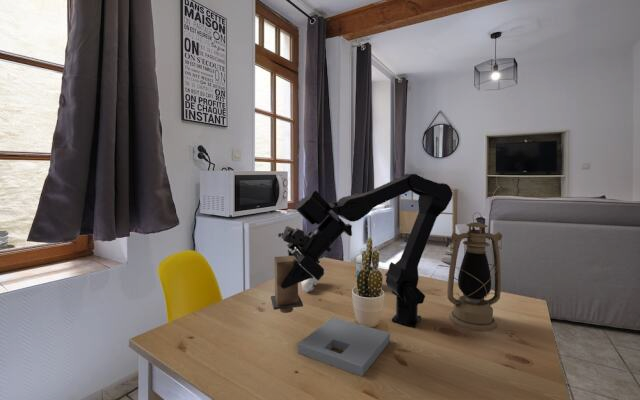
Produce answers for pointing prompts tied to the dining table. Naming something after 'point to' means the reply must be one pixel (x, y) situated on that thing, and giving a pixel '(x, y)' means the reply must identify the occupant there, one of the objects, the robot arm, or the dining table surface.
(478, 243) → the lantern
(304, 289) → the white lumpy upright piece
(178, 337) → the dining table surface
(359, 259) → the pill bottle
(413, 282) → the robot arm
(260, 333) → the dining table surface
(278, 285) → the walnut peg
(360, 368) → the slate board
